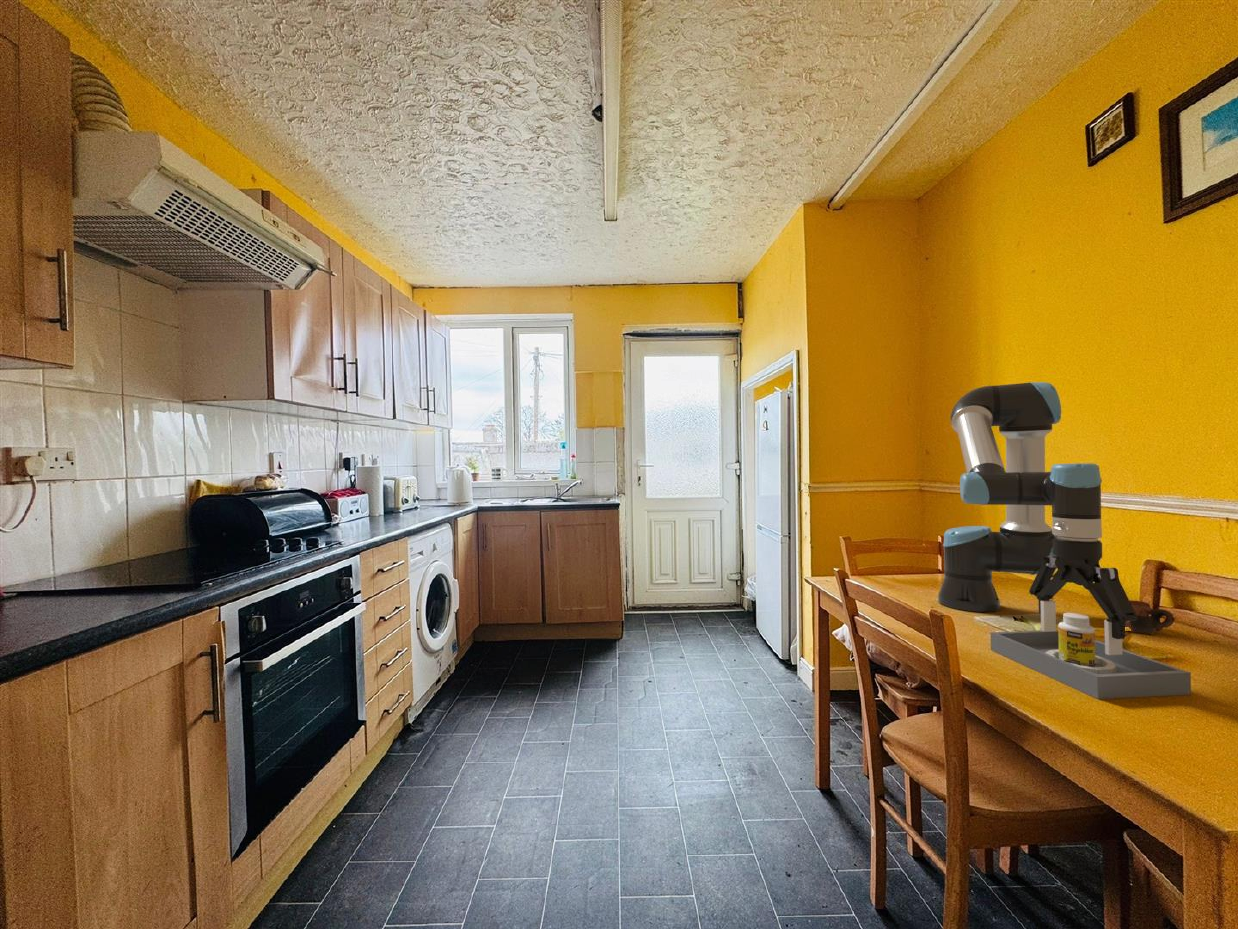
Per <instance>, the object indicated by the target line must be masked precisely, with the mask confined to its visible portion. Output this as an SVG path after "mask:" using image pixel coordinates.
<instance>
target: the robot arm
mask: <svg viewBox="0 0 1238 929" xmlns="http://www.w3.org/2000/svg"><path fill="white" fill-rule="evenodd" d="M1061 405H1062V404H1061V400H1060V396H1059V393H1058V391H1057V389H1056V387H1055V386H1054V385H1053V384H1052V383H1050V382H1047V381H1045V382H1044V381H1043V382H1041V381H1040V382H1039V381H1038V382H1036V381H1035V382H1030V381H1029V382H1023V383H1021V382H1020V383H1011V384H1009V383H1008V384H1000V385H998V384H997V385H984V386H981V387H977V388H974V389H972V390H970V391H969V392H967V393H965V394H964V395H963V396H961V397H960V399H958V401H957V402H956V403H955V404H954V405H953V407H952V409H951V413H950V423H951V427H952V429H953V430H954V431H955V432H956V433H957V434H958V436H957V437H958V439H959V443H960V449H961V452H962V456H963V461H964V465H965V470H966V472H964V473H961V475H960V478H959V492H960V499H961V501H962V502H963V503H964V504H971V505H980V506H986V505H988V506H989V505H990V506H992V505H994V506H997V505H998V506H1006V507H1005V511H1006V512H1005V516H1006V517H1005V521H1003V522H1001V523H1000V525H999V531H992V529H991V526H990V527H989V526H987V525H982V526H981V525H970V526H958V527H953V528H949V529H947V530H946V531H944V533H943V544H942V547H943V554H944V555H943V558H944V559H943V560H944V562H943V566H944V567H943V570H944V572H943V573H944V578H943V581H942V583H941V587H940V590H939V592H938V594H937V595H938V596H937V598H938V599H937V602H938V603H939V604H941V605H942V606H944V607H948V608H951V609H956V610H959V611H966V612H967V611H968V612H979V613H981V612H983V613H989V612H991V613H993V612H997V611H1000V609H1001V601H1000V598H999V596H998V594H997V590H996V588H995V585H994V584H993V574H992V573H993V572H995V573H1008V574H1009V573H1010V574H1022V575H1023V574H1024V575H1030V576H1035V577H1034V580H1033V581H1032V584H1031V586H1030V587H1029V591H1028V594H1030V595H1031V596H1035V597H1036V598H1037V600H1038V612H1039V614H1040V630H1041V631H1044V632H1046V631H1056V630H1057V620H1056V619H1057V618H1056V616H1057V614H1056V613H1057V612H1056V607H1057V606H1056V601H1055V600H1054V599H1055V598H1054V596H1056V594H1057V593H1059V591H1060V590H1061V589H1063V587H1064V586H1065V585H1067V583H1072V584H1073V583H1074V584H1075V585H1077V586H1083V588H1084V589H1085V590H1087V591H1088V592H1089V593H1090V594H1091V596H1092V598H1093V599H1094V600H1095V602H1096V603H1097V604H1098V606H1099V608H1101V610H1102V611H1103V613H1104V614H1105V615H1106V617H1107V618H1106V619H1104V620H1103V621H1104V622H1103V623H1104V625H1103V626H1104V643H1105V654H1107V655H1123V654H1122V649H1123V640H1124V639H1126V632H1125V623H1126V622H1130V621H1136V620H1138V617H1137V615H1136V613H1135V611H1134V609H1133V607H1132V605H1131V603H1130V601H1129V600H1130V598H1129V597H1128V595H1127V593H1126V591H1125V589H1124V587H1123V585H1122V583H1121V581H1120V578H1119V577H1120V576H1119V571H1118V568H1116V567H1101V566H1100V561H1101V559H1102V558H1103V542H1102V541H1101V540H1099V539H1101V538H1103V526H1102V524H1103V523H1102V489H1101V488H1102V482H1103V480H1102V477H1101V471H1100V466H1099V465H1098V464H1096V463H1091V462H1090V463H1086V462H1085V463H1084V462H1083V463H1080V462H1079V463H1055V464H1053V465H1052V466H1051V467H1050V471H1046V436H1047V435H1048V434H1050V433H1051V432H1052V431H1053V425H1056V424H1058V423H1059V422H1060V421H1061V420H1062V406H1061ZM992 427H998V433H999V434H1000V435H1001V436H1003V437H1004V438H1005V465H1004V462H1003V459H1002V457H1001V452H1000V449H999V446H998V443H997V441H996V437H995V435H994V431H993V428H992ZM1046 506H1051V523H1052V524H1051V525H1049V524H1048V523H1047V522H1046ZM1114 613H1115V614H1116V615H1115V614H1114ZM1126 613H1127V614H1126Z"/></svg>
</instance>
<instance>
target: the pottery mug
mask: <svg viewBox="0 0 1238 929" xmlns="http://www.w3.org/2000/svg"><path fill="white" fill-rule="evenodd" d="M1129 601H1130V603H1131V605H1132V607H1133V609H1134V611H1135V613H1136V615H1137V617H1138V620H1136V621H1127V622H1126V623H1125V627H1129V628H1130V629H1131V632H1130V633H1140V634H1144V635H1145V634H1146V635H1151V636H1152V635H1153V636H1154V635H1155V631H1157V632H1161V631H1162V630H1163V629H1166V628H1169V627H1171V626H1172V625H1173V624H1174V622H1175V620H1176V618H1175V617H1174V615H1173V613H1171V611H1169V610H1166V609H1161V608H1160V609H1153V608H1151V604H1150V603H1148V602H1146V601H1140V600H1130V599H1129ZM1114 614H1115V613H1114ZM1126 614H1127V613H1126ZM1150 614H1151V615H1150ZM1115 615H1116V614H1115ZM1162 617H1165V618H1164V620H1163V621H1162V622H1161V618H1162Z"/></svg>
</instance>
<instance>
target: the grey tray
mask: <svg viewBox="0 0 1238 929" xmlns="http://www.w3.org/2000/svg"><path fill="white" fill-rule="evenodd" d="M989 635H990V651H992V652H994V653H996V654H998V655H1001V656H1003V657H1005V658H1007V659H1009V660H1012V661H1013V662H1016V663H1018V664H1020V665H1023V666H1025V667H1026V668H1028V669H1031V670H1034V671H1035V672H1038V673H1040V674H1042V675H1045V676H1046V677H1049V678H1051V679H1053V680H1055V681H1057V682H1059V683H1062V684H1064V685H1065V686H1068V687H1071V688H1073V689H1075V690H1077V691H1079V692H1081V693H1083V694H1085V695H1088V696H1090V697H1092V698H1095V699H1097V700H1106V699H1125V698H1126V699H1127V698H1146V697H1147V698H1149V697H1151V698H1152V697H1163V696H1164V697H1165V696H1167V697H1168V696H1170V697H1171V696H1189V695H1192V681H1191V680H1192V679H1191V678H1192V674H1191V673H1192V672H1190V671H1188V670H1184V669H1181V668H1179V667H1176V666H1172V665H1170V664H1166V663H1164V662H1162V661H1159V660H1155V659H1153V658H1150V657H1147V656H1143V655H1141V654H1137V653H1134V652H1132V651H1129V650H1126V649H1124V648H1122V654H1123V655H1107V654H1105V642H1104V641H1100V640H1098V639H1095V663H1096V665H1095V667H1089V666H1081V665H1077V664H1072V663H1068V662H1066V661H1063V660H1061V659H1059V634H1058V629H1056V631H1046V632H1044V631H1041V629H1040V630H1024V631H1023V630H1019V631H1018V630H1016V631H995V632H994V631H993V632H992V631H991V632H990V634H989Z"/></svg>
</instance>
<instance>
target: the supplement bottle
mask: <svg viewBox="0 0 1238 929" xmlns="http://www.w3.org/2000/svg"><path fill="white" fill-rule="evenodd" d="M1090 623H1091V622H1090V616H1088V615H1086V614H1085V615H1084V614H1080V613H1075V612H1064V613H1063V617H1062V621H1060V622H1059V623H1058V625H1057V628H1058V629H1057V630H1058V634H1059V659H1061V660H1063V661H1066V662H1068V663H1072V664H1077V665H1081V666H1089V667H1095V665H1096V663H1095V640H1096V630H1095V628H1094V627H1093V626H1091V624H1090Z"/></svg>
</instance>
